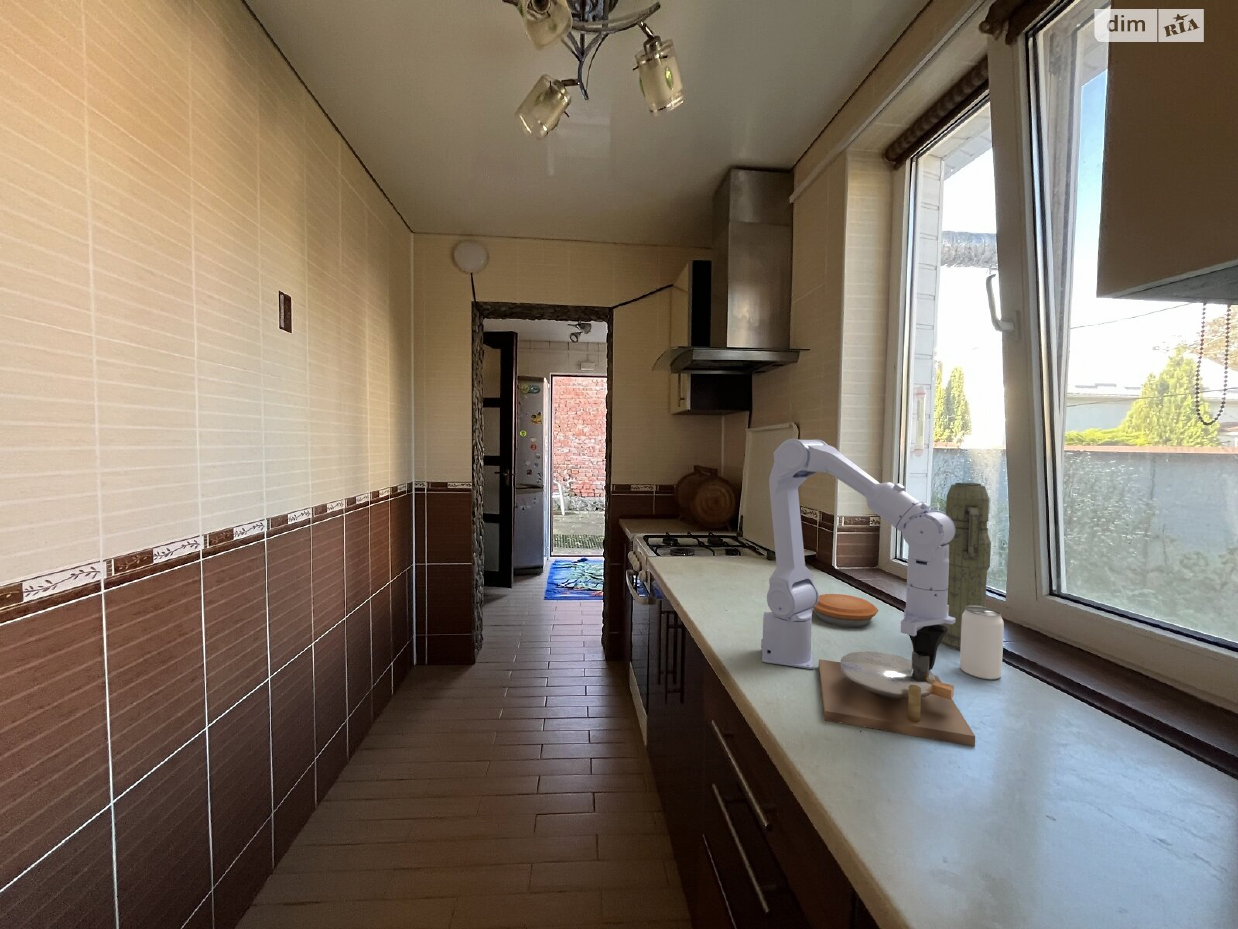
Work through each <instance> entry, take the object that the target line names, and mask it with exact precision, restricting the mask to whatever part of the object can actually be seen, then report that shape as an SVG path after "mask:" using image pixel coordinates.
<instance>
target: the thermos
mask: <svg viewBox="0 0 1238 929" xmlns="http://www.w3.org/2000/svg"><path fill="white" fill-rule="evenodd" d="M945 504H946V507H945V513H946V515H947V516H948V517H950V518H951V520H952V521H953V523H954V525H955V535H954V537H953V539H952V540H951V541H950V542H949V543H947V544H949V577H948V600H947V605H949V614H948V616H950V617H954V618H955V623H953V624H946V623H943V624H938V625H942V626H945V627H947V628H948V631H947V633H946V634H945V636H944V637H943V639H942V640H941V642H940V645H943V646H945V647H946V648H947V647H948V648H950V649H954V650H956V651H960V648H961V624H962V614H963V613H964V611H965V607H967V606H981V607H986V604H987V581H988V580H987V579H988V578H987V577H988V571H989V569H990V568H991V553H992V552H991V549H992V541H991V538H990V536H989V528H988V522H989V517H990V516H989V512H990V497H989V493H988V490H987V487H986V486H985V485H982V484H981V483H976V482H975V483H974V482H955V483H953V484H950V487H949V489H948V492H947V494H946V501H945ZM947 544H945V545H947ZM945 545H943V546H945ZM940 547H942V546H940Z"/></svg>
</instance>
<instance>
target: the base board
mask: <svg viewBox="0 0 1238 929" xmlns="http://www.w3.org/2000/svg"><path fill="white" fill-rule="evenodd" d="M818 674H819V682H820V689H821V691H822V692H821V698H822V707H823V708H824V709H823V716H824V720H825V722H826V721H827V722H833V723H838V722H842V723H841V724H844V723H845V724H846V725H849V724H851V725H850V726H854V727H856V726H857V727H861V726H865V727H864V728H867V727H869V728H868V729H872V728H874V730H878V729H881V730H880V731H884V730H886V731H885V732H889V733H891V732H892V733H895V732H898V733H897V734H901V733H902V735H908V736H915V737H919V738H926V739H929V740H937V741H941V742H942V741H943V742H946V743H954V744H960V745H965V746H972V747H975V746H976V735H975V733H974V732H973V730H972V728H971V726H969V724H968V722H967V720H966V719H965V717H964V716H963V714H962V712H961V710H960V709H959V708H958V706H957V705H956V703H955V701H954V700H953V698H952V699H951V700H950V699H947V698H943V697H940V696H937V695H934V694H931V695H929V696H926V697H922V698H921V688H920V687H919V686H916V685H909V697H908V698H896V697H890V696H885V695H881V694H877V693H874V692H871V691H868V690H865V689H863V688H861V687H858V686H856V685H855V684H853V683H851V682H850V681H848V680H847V679H846V678H845V677H844V676H843V675H842V673H841V661H834V660H826V659H820V658H819V659H818ZM933 675H934V676H935V680H936V681H939V682H942V680H941V679H940V676H938V675H937V674H936V675H935V674H933ZM845 724H844V725H845Z"/></svg>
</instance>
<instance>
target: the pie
mask: <svg viewBox="0 0 1238 929" xmlns="http://www.w3.org/2000/svg"><path fill="white" fill-rule="evenodd" d="M813 610H814V612H815V613H816V616H817V617H818V618H819V619H820V620H821V621H823V622H825V623H827V624H830V625H834V626H838V627H845V628H862V627H865V626H867V625H868V624H869V623H870V622H871V620H872V619H873V618H874V617H875V616H876V615H877V614H878V612H879V611H880V610H879V609H878V607H876V606H875V605H874V604H873V603H872V602H870V601H869V600H866V599H863V598H860V597H859V596H858V597H857V596H854V595H849V594H848V595H847V594H842V593H841V594H840V593H826V594H819V601H818V603H817V605H816V606H815V607H814V608H813Z"/></svg>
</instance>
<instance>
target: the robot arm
mask: <svg viewBox="0 0 1238 929" xmlns="http://www.w3.org/2000/svg"><path fill="white" fill-rule="evenodd" d="M773 461H774V462H773V464H772V469H771V472H770V474H769V478H768V484H769V485H768V486H769V497H770V498H769V499H770V508H771V509H770V510H771V517H772V519H771V520H772V529H773V541H774V552H775V554H774V555H775V563H776V564H775V565H776V567H775V569H774V570H773V572H772V574H771V575H770V577H769V580H768V582H769V583H768V584H769V587H768V591H767V593H766V603H767V607H768V608H769V610H770V611H764V612H763V620H762V638H761V642H760V644H761V645H760V648H761V650H762V652H761V654H762V655H761V657H762V658H761V661H762V662H763V663H766V664H773V665H774V664H775V665H781V666H787V667H789V666H790V667H796V668H802V669H810V670H812V669H813V670H814V656H813V652H812V650H811V649H812V622H813V620H812V619H813V618H812V615H813V609H814V607H815V606H816V605H817V603H818V601H819V596H820V593H819V590H818V588H817V586H816V584H815V582H814V575H813V572H811V570H809V568H808V567H807V566H806V561H805V559H806V558H805V549H804V538H803V529H802V519H801V518H802V516H801V507H800V497H799V496H800V495H799V487H800V486H801V485H802V484H804V482H805V481H806V480H807V479H808V478H809V477H810V476H812V475H814V474H816V473H826V474H830V475H831V476H832V477H834V478H836V479H837V480H839V481H841V482H842V483H844V484H845V485H847V486H848V487H850V488H851V489H853V490H854V491H855V492H857V493H858V494H860V495H862V496H863V497H864V498H865V499H866V504H867V507H868V509H869V510H871V511H872V512H873V513H875V514H876V515H877V516H878V517H880V518H881V519H882V520H884V521H885V522H887V523H888V524H889V525H891V526H892V527H894V529H897V530H898V531H899V532H901V534H902V537H903V540H904V541H905V542H906V544H907V545H908V553H907V554H908V555H907V566H906V567H907V570H906V571H907V572H906V574H907V575H906V593H905V594H906V595H905V597H906V598H905V600H906V601H905V608H904V612H903V619H902V620H900V633H901V634H904V635H906V636H908V637H909V639H910V641H911V644H912V652H913V651H921V652H924V653H927V654H929V671H931V670H933V668H934V666H935V662H936V657H937V652H938V650H939V646H940V645H941V643H940V642H941V640H942V639H943V637H944V636H945V634H946V633H947V631H948V628H947V627H945V626H942V625H938V624H943V623H946V624H953V623H955V618H954V617H950V616H948V614H949V605H947V600H948V577H949V544H947V543H949V542H950V541H951V540H952V539H953V537H954V535H955V525H954V523H953V521H952V520H951V518H950V517H948V516H947V515H946V511H942V510H938V509H930V508H931V505H930V504H928V503H927V502H921V501H919V500H918V499H917V498H915V497H914V496H912V495H911V494H909V493H908V492H906V491H905V489H906V487H905V486H904V485H902V484H901V483H895V484H894V483H893V482H891V481H889V482H888V481H886V482H881V483H880V482H879V481H877V480H876V479H875V478H873V477H872V476H871V475H870V474H869V473H867V472H866V471H865V470H863V469H862V468H860V467H859V466H858V465H856V464H855V463H854V462H852V461H851V460H850V459H849V458H847V457H846V456H845V455H843V454H842V453H841V452H839V450H838V449H837V448H836V447H835V446H832V445H831V444H829V445H828V443H826V442H825V441H824V440H821V439H819V438H818V439H817V438H816V439H815V438H814V439H812V438H811V439H797V438H788V439H787V440H784V441H783V442H782V443H781V444H780V445H779V446H778V447H777V448H776V449H775V451H773ZM945 544H947V545H945ZM943 545H945V546H943ZM941 546H942V547H941Z"/></svg>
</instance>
